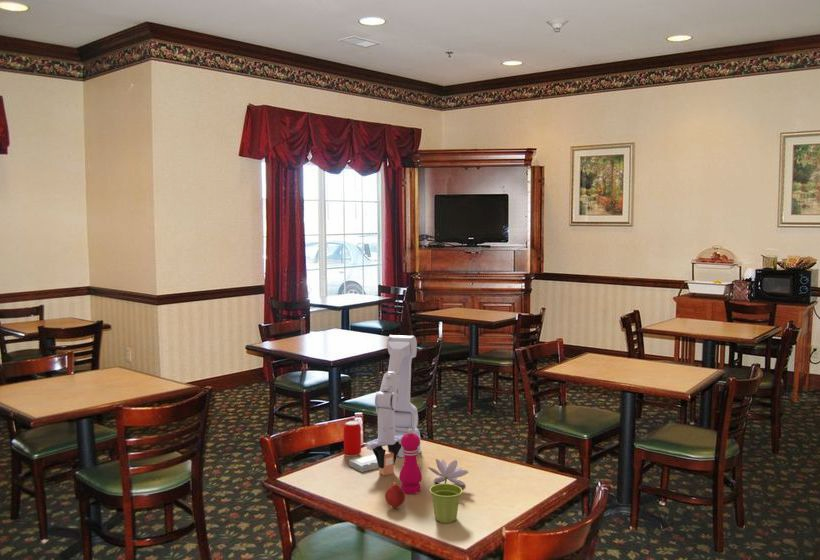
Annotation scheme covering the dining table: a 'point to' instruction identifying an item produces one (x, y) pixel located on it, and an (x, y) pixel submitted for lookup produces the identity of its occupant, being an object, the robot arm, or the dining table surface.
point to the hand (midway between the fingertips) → (386, 466)
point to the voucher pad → (365, 463)
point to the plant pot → (445, 501)
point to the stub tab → (388, 464)
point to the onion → (395, 495)
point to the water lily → (448, 472)
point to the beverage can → (352, 438)
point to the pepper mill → (410, 464)
